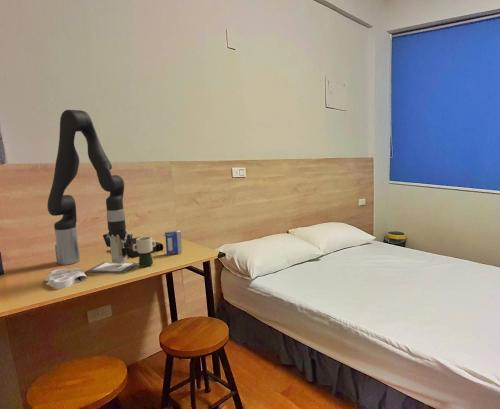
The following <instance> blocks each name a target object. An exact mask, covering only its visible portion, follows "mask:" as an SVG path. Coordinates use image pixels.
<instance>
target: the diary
mask: <svg viewBox="0 0 500 409" xmlns="http://www.w3.org/2000/svg"><path fill="white" fill-rule="evenodd" d="M140 237H141V236H137V237H132V241H131V245H130V246H128V247H127V257H129V258H131V259H135V258H139V255H140V253H138V252H137V251H133V244H136V239H137V238H140ZM126 240H127V238H126ZM152 245H154V242H152ZM135 249H137V247H136V246H135ZM163 250H164V244H163V243H161V242H156V246H155V247H153V250H152V251H151V252H150V253H151V254H153V253H157V252H160V251H163Z"/></svg>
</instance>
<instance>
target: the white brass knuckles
mask: <svg viewBox="0 0 500 409" xmlns="http://www.w3.org/2000/svg"><path fill="white" fill-rule="evenodd" d="M85 273H86V272H84V270H83V269H82V268H79V267H77V268H68V269H67V268H58V269H54V270H51V271H50V274H49V275H47V278H45V279H44V281H45V282H46V283H45V285H46V286H49V287H50V288H51V287H52V288H54V289H55V290H63V289H66V288H69V287H72V285H74V284H76V283H81V282H84V281H86V280H87V279H88V276H87V275H86V274H85ZM79 278H80V279H79Z"/></svg>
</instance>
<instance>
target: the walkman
mask: <svg viewBox="0 0 500 409" xmlns="http://www.w3.org/2000/svg"><path fill="white" fill-rule="evenodd" d="M164 235H165V238H164V239H165V249H166V250H165V251H166V255H167V256H169V255H172V254H173V255H181V254H180V253H183V248H182V232H181V230H172V231H164Z"/></svg>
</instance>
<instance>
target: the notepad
mask: <svg viewBox="0 0 500 409" xmlns="http://www.w3.org/2000/svg"><path fill="white" fill-rule="evenodd" d="M138 265H139V262H122V263H112V261H108V262H107V261H103V262H101V263H98V264H97V265H95V266H94V267H92V268H90V269H88V270H85V273H98V274H99V273H100V274H101V273H103V274H126V273H128V272H129V271H131V270H132V269H134V268H135V267H137V266H138Z"/></svg>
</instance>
